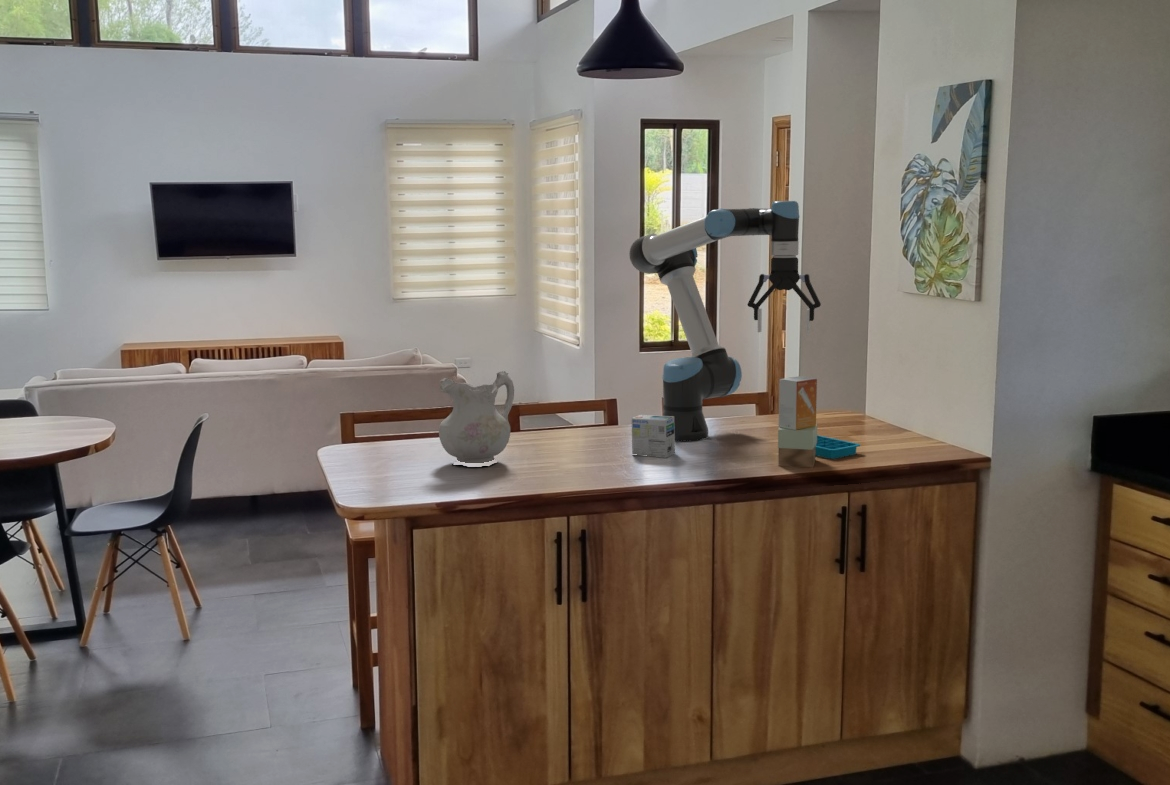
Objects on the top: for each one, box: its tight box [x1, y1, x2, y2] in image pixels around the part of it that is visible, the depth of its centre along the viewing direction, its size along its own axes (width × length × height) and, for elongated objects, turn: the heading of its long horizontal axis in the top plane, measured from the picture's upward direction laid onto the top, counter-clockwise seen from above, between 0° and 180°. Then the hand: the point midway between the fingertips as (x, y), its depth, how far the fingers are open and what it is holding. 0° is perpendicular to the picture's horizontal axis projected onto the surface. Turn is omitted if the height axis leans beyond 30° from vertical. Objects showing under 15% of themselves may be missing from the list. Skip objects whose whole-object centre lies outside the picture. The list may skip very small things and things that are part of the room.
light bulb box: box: [631, 414, 676, 458], centre depth 302 cm, size 11×7×11 cm, turn 65°
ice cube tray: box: [815, 434, 861, 459], centre depth 302 cm, size 12×20×3 cm, turn 33°
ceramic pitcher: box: [438, 370, 515, 463], centre depth 295 cm, size 22×20×25 cm
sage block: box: [777, 423, 818, 450], centre depth 287 cm, size 9×9×5 cm
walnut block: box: [777, 445, 816, 468], centre depth 288 cm, size 9×9×5 cm
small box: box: [778, 375, 818, 430], centre depth 286 cm, size 8×6×13 cm
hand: (783, 332), depth 306 cm, fingers open, 13 cm apart
